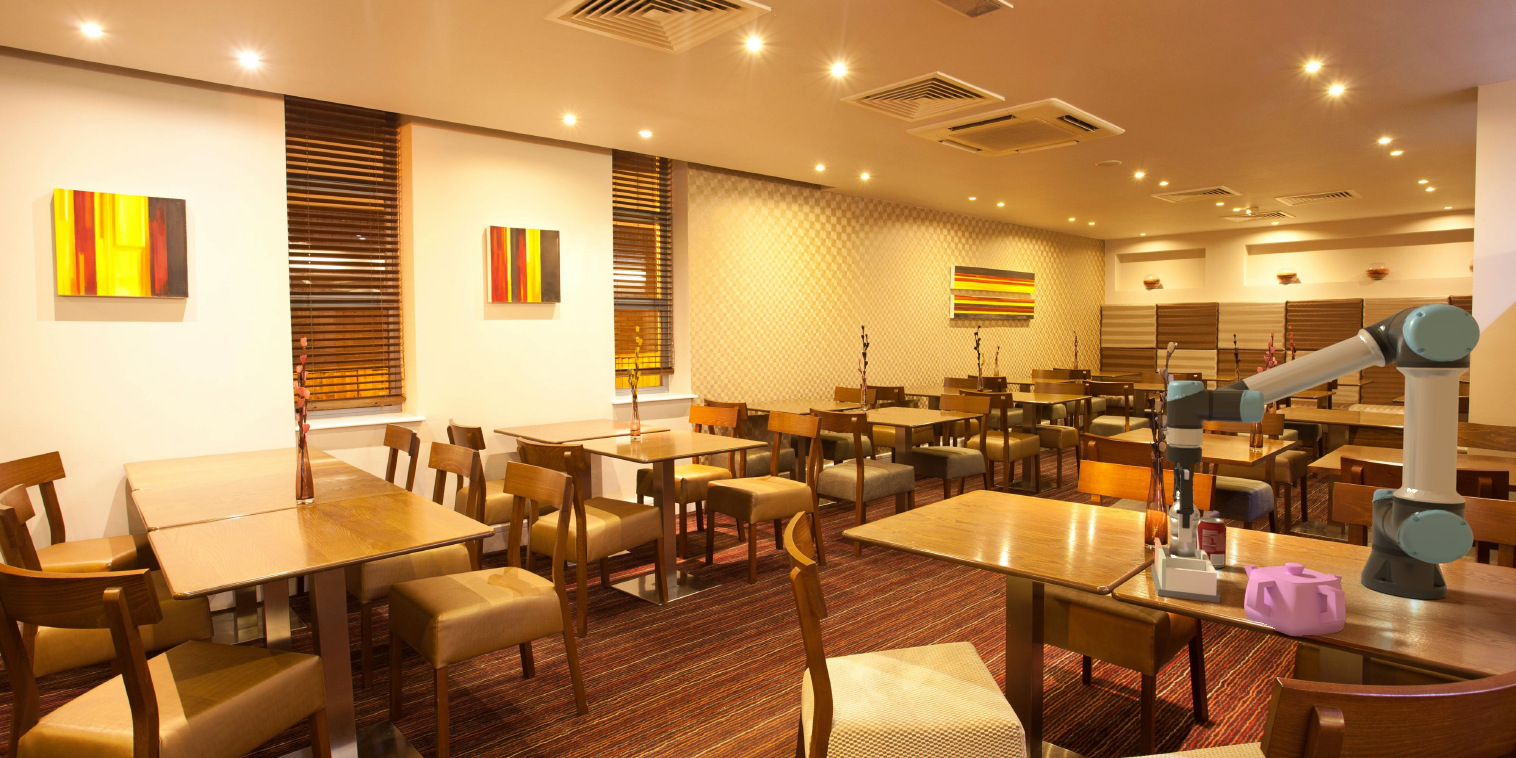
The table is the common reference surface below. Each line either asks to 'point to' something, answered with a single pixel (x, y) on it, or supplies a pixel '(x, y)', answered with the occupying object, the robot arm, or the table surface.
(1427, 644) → the table surface
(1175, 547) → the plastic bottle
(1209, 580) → the socket board
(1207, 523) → the soda can
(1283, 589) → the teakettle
